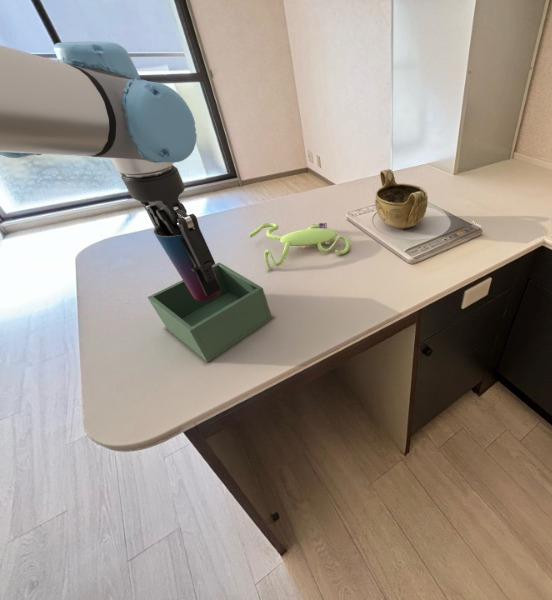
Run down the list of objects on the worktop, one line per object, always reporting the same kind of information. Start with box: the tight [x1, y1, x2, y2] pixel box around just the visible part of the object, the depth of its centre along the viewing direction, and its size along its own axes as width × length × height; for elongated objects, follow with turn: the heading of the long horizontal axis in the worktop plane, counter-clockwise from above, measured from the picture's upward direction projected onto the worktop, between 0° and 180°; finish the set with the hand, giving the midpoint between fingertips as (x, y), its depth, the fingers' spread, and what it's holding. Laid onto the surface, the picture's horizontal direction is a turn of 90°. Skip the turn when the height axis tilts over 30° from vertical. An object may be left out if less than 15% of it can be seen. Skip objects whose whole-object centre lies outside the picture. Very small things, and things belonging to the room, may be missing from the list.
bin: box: [147, 262, 273, 363], centre depth 69 cm, size 16×16×9 cm
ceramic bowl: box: [374, 168, 429, 230], centre depth 105 cm, size 22×17×15 cm
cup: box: [153, 225, 220, 301], centre depth 62 cm, size 7×7×15 cm
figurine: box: [248, 222, 350, 271], centre depth 95 cm, size 18×27×6 cm
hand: (203, 285), depth 65 cm, fingers closed on cup, 6 cm apart
